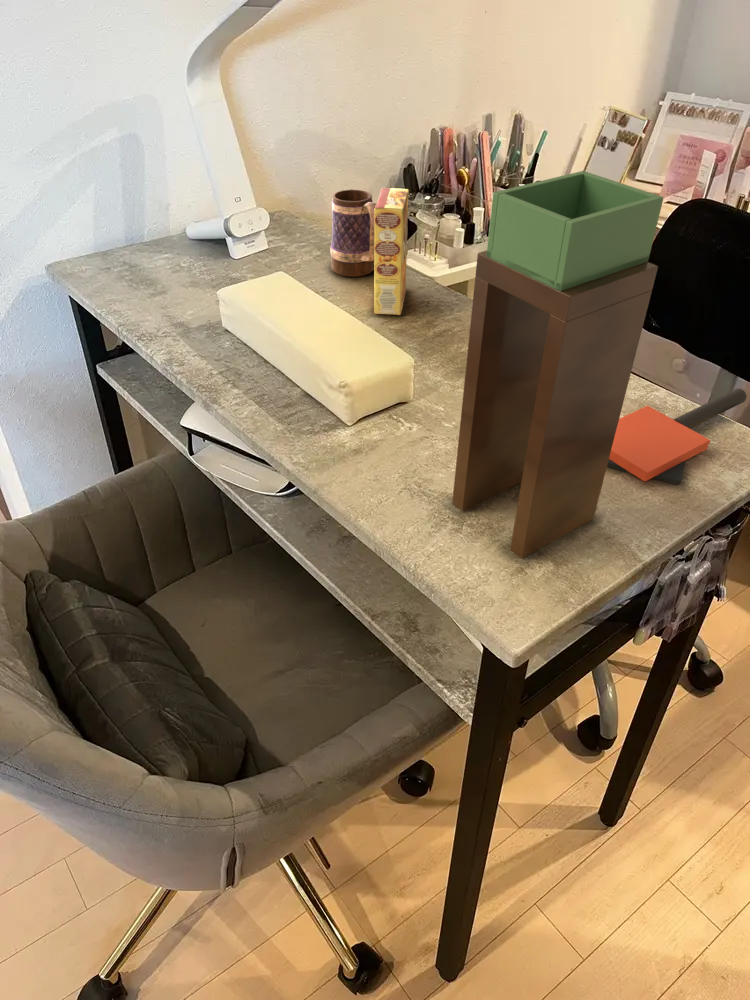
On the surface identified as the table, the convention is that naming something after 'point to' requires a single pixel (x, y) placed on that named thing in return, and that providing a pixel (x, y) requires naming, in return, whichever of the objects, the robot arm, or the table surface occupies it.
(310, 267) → the table surface
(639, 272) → the stand
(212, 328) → the table surface
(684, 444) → the red square paddle
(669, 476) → the mat
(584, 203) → the green open box
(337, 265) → the mug
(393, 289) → the candy box
